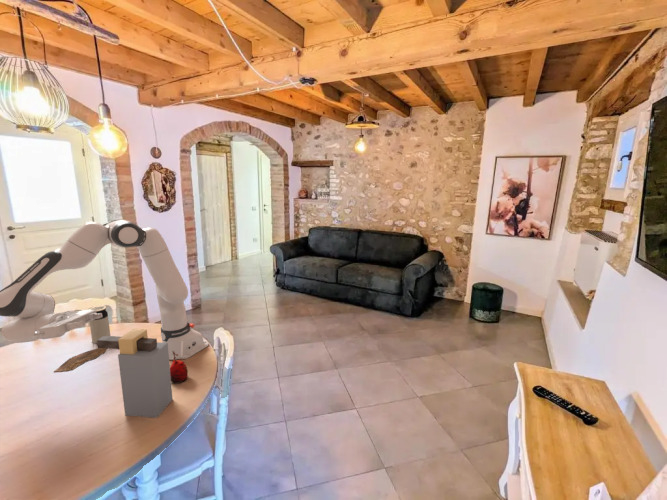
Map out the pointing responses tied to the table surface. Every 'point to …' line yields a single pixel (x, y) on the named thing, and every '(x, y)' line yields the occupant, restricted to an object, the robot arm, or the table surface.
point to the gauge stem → (113, 343)
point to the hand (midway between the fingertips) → (92, 319)
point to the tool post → (144, 376)
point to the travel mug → (99, 324)
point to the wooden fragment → (80, 359)
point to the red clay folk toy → (178, 370)
